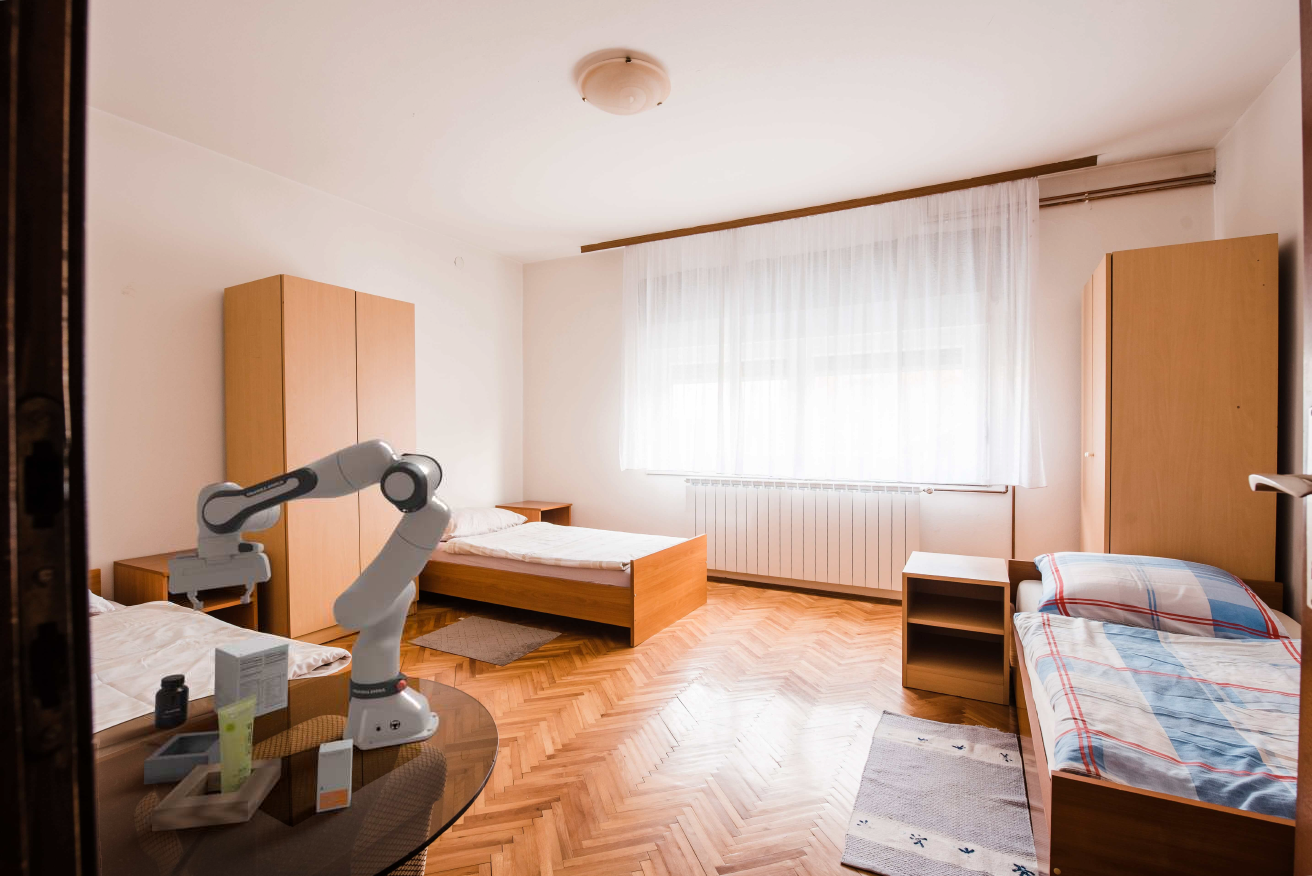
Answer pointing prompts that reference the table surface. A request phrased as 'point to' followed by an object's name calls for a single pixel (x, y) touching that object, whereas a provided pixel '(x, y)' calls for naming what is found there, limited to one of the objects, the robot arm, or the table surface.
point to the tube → (236, 743)
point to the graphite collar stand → (182, 756)
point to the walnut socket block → (215, 797)
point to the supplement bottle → (171, 702)
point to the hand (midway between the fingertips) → (222, 606)
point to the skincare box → (334, 775)
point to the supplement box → (252, 674)
